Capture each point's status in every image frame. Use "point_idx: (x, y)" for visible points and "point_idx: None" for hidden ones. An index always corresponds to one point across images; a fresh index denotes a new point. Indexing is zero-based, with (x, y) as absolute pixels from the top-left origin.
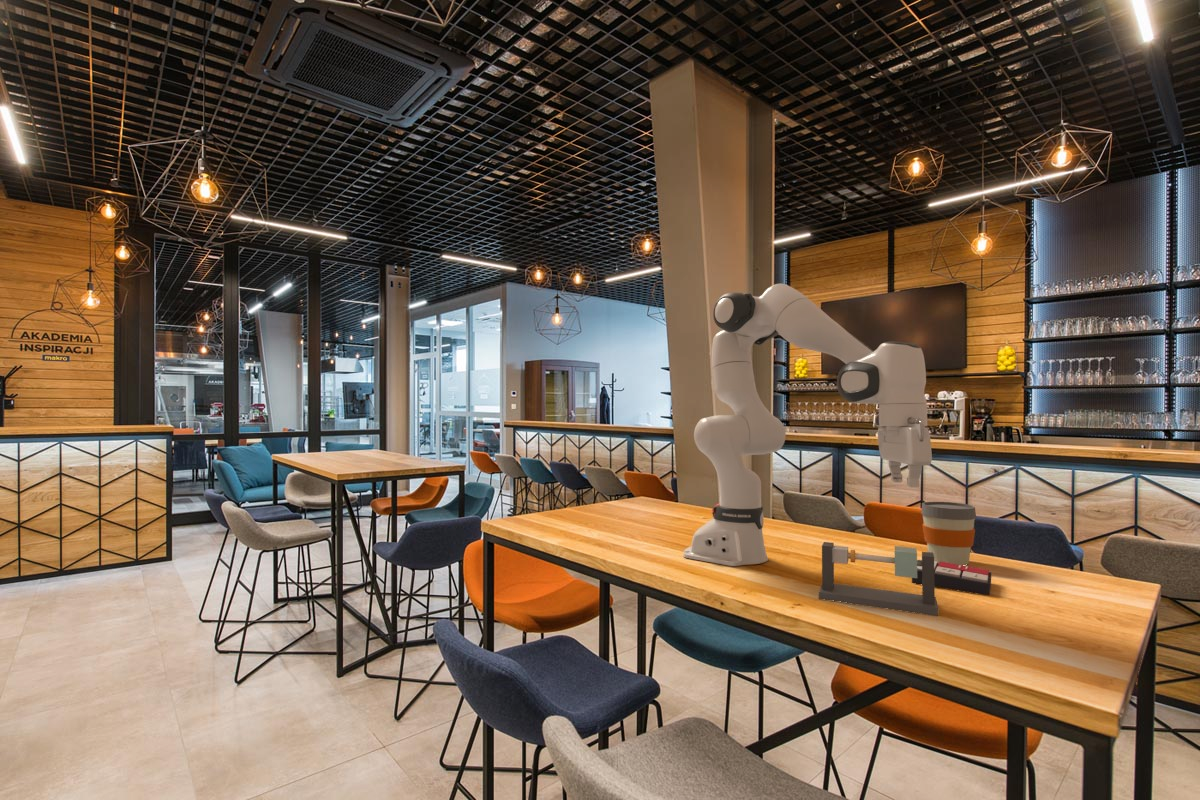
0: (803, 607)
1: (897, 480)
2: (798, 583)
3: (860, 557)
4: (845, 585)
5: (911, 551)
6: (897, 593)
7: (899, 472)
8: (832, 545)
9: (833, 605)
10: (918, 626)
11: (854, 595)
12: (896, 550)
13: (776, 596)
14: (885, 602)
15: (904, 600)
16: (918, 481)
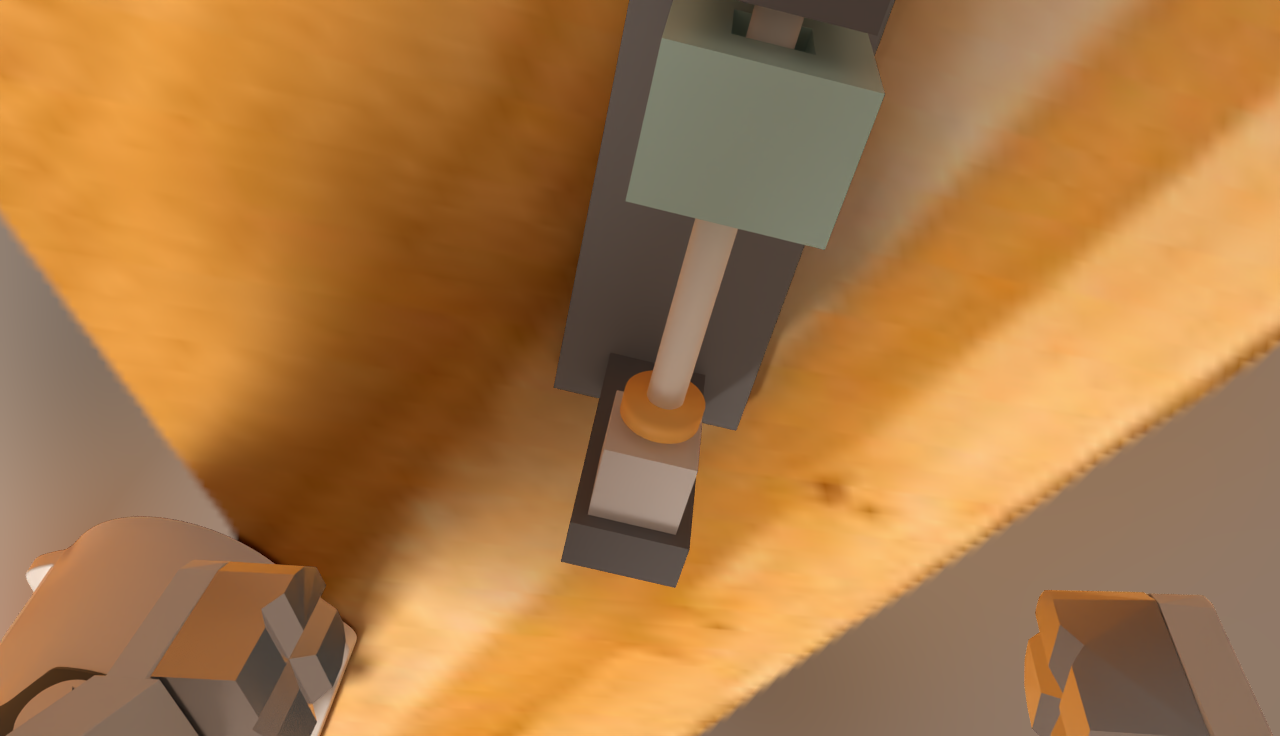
0: (867, 476)
1: (317, 631)
2: (506, 447)
3: (691, 373)
4: (580, 299)
5: (817, 121)
6: None
7: (147, 717)
8: (646, 538)
9: (818, 366)
10: (1122, 39)
11: (759, 292)
12: (797, 230)
13: (734, 542)
14: None
15: None
16: (1250, 691)
